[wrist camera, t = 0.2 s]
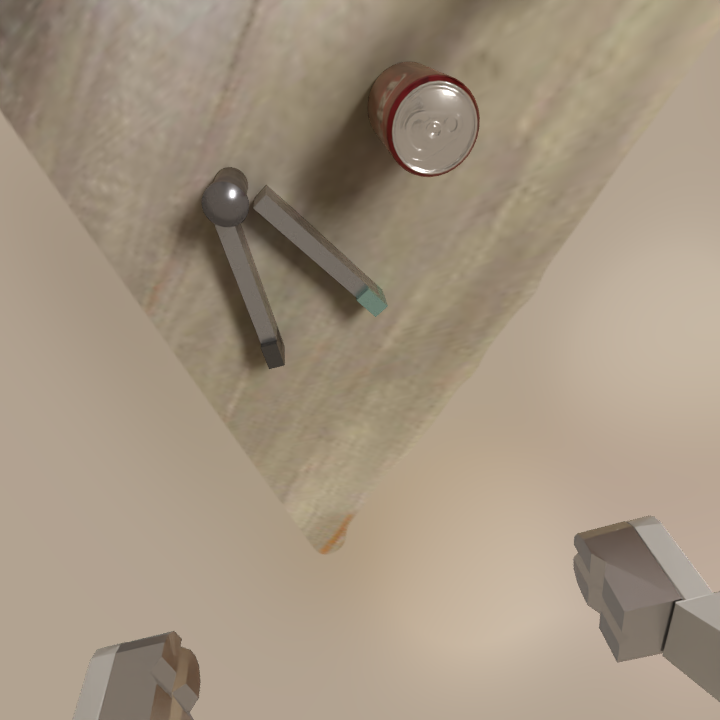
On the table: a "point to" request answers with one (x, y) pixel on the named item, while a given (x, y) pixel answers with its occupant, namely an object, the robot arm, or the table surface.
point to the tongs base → (242, 256)
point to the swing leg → (319, 250)
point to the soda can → (423, 118)
